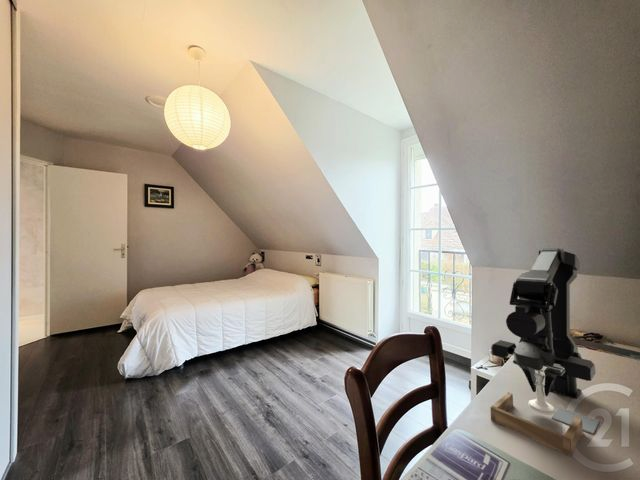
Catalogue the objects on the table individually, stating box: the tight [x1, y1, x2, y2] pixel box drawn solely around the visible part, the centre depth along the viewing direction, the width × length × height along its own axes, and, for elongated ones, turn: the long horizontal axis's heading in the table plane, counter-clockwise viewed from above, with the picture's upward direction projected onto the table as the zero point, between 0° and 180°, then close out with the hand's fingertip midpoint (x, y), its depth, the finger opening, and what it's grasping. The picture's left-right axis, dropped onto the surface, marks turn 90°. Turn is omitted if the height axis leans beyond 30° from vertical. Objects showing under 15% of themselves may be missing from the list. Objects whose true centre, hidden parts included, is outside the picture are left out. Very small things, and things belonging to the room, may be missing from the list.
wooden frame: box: [490, 392, 584, 457], centre depth 60 cm, size 11×14×3 cm
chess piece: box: [528, 368, 556, 415], centre depth 63 cm, size 5×5×10 cm
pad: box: [551, 406, 600, 435], centre depth 62 cm, size 7×7×1 cm
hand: (540, 393), depth 63 cm, fingers closed on chess piece
